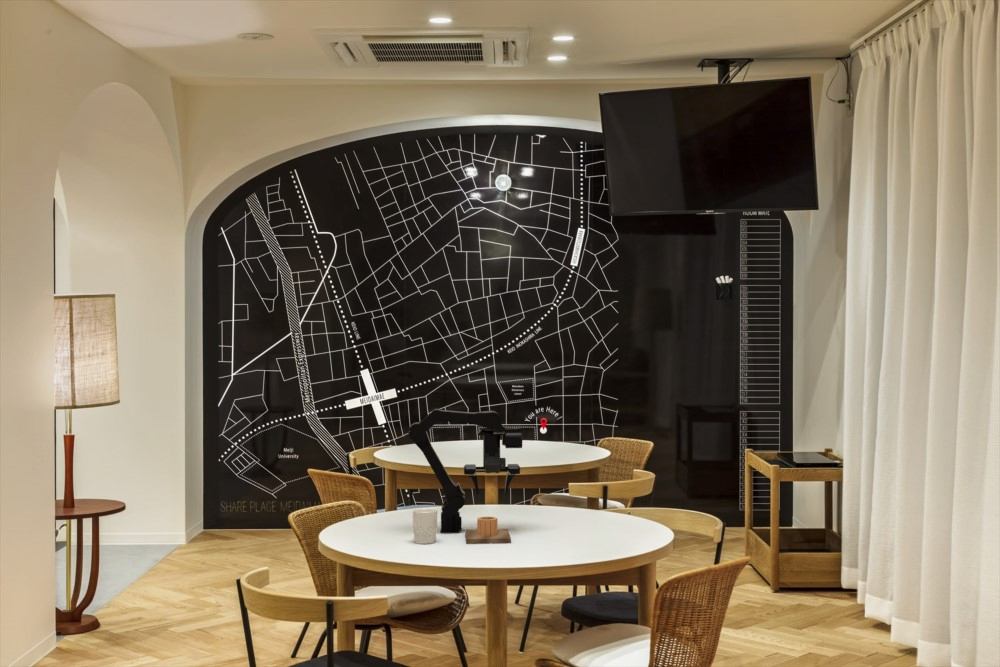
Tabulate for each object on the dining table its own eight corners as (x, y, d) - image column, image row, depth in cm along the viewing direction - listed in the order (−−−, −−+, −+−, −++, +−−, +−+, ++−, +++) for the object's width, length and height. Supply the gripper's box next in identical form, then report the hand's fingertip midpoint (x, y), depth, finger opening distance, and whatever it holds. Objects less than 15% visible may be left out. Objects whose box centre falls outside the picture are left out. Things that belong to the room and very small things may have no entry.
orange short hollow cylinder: (477, 535, 307) (477, 520, 307) (477, 532, 314) (477, 516, 314) (497, 535, 308) (497, 519, 308) (496, 531, 314) (496, 516, 314)
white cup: (408, 543, 303) (408, 511, 303) (419, 539, 311) (418, 507, 311) (431, 545, 301) (431, 513, 301) (441, 540, 308) (441, 509, 308)
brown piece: (466, 543, 302) (466, 523, 302) (465, 534, 318) (465, 514, 318) (510, 543, 303) (510, 522, 303) (507, 533, 319) (507, 513, 319)
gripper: (464, 451, 316) (464, 499, 315) (521, 450, 317) (521, 498, 316) (463, 447, 327) (463, 494, 326) (518, 447, 328) (518, 493, 327)
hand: (491, 495), depth 324 cm, fingers open, 9 cm apart
